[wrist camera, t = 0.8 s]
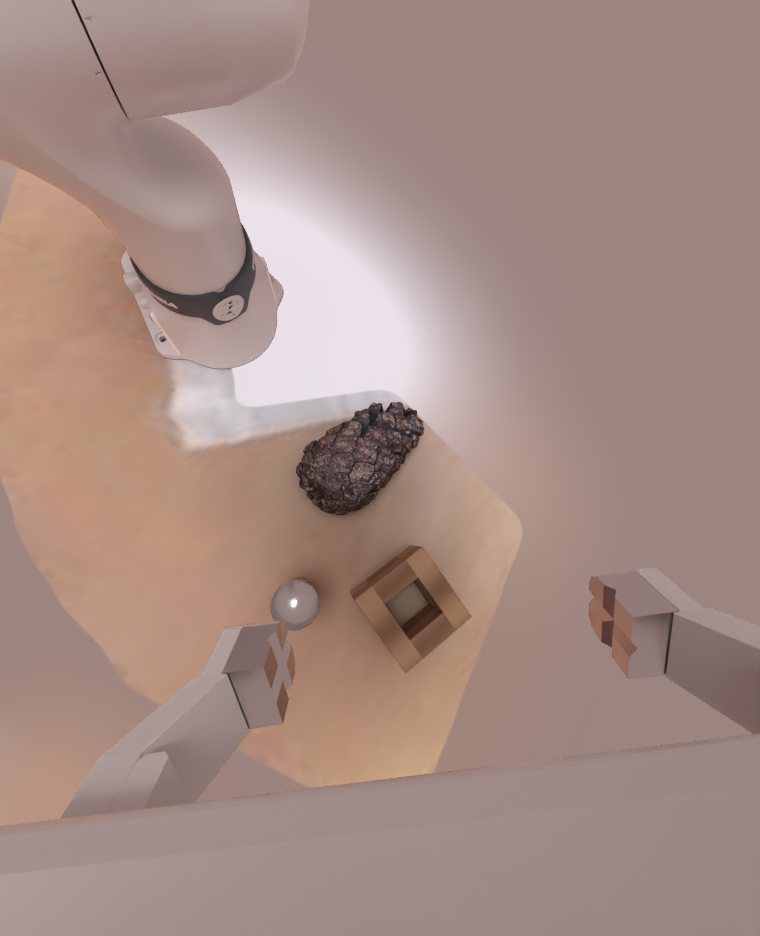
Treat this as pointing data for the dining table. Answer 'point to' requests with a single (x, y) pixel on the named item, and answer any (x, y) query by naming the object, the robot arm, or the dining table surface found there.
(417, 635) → the socket block
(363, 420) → the pine cone
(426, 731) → the dining table surface
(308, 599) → the pin
